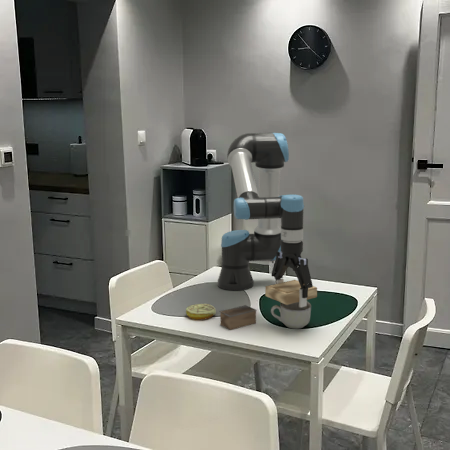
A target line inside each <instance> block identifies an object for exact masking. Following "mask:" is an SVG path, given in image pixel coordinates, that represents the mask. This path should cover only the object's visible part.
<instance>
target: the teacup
mask: <svg viewBox="0 0 450 450" xmlns="http://www.w3.org/2000/svg"><path fill="white" fill-rule="evenodd" d="M276 309H277V310H278V311H279V313H280V316H279V315H277V314H276V313H275V310H276ZM311 311H312V304H311V303H310V302H309V301H307V306H305V307H299V302H296V303H292V304H288V305H286V304H284V303H281V302H280V305H277V304H275V305H273V306H272V307H271V308H270V313H271V315H272V316H273V317H274V318H275V319H277V320H278V321H279V322H281V323H283V324H284V325H285V326H286V327H287V328H288V329H293V330H294V329H297V330H299V329H302V328H304V327H305V326H307V325H308V324H309V323H310V320H311V314H312V313H311Z"/></svg>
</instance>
